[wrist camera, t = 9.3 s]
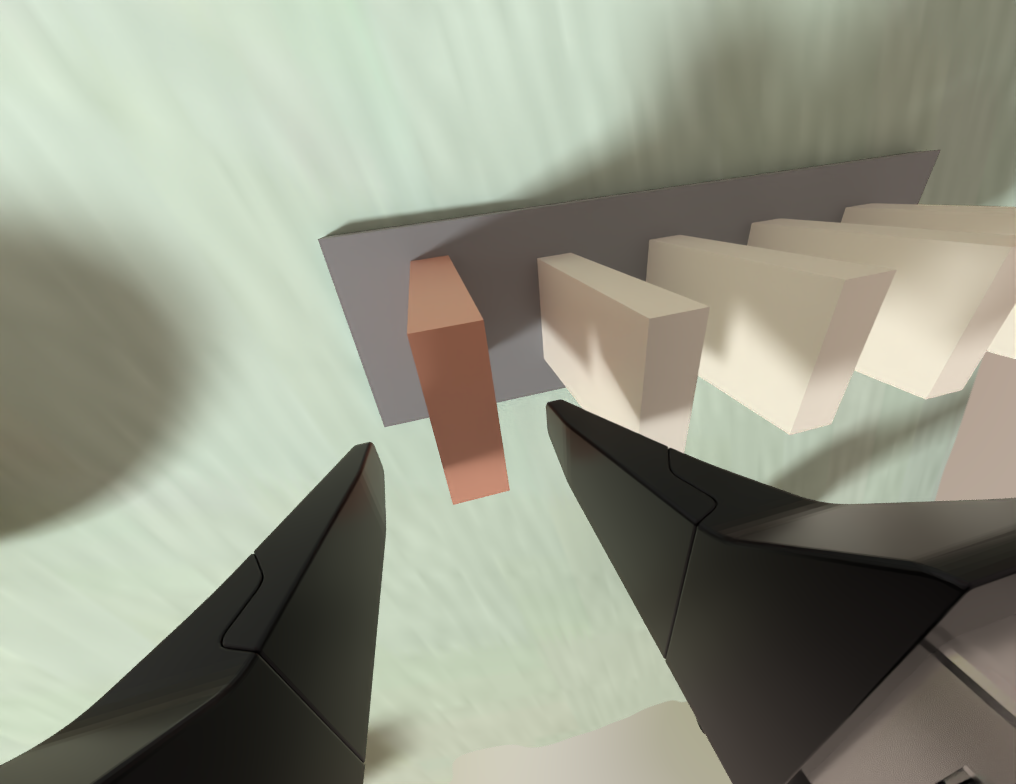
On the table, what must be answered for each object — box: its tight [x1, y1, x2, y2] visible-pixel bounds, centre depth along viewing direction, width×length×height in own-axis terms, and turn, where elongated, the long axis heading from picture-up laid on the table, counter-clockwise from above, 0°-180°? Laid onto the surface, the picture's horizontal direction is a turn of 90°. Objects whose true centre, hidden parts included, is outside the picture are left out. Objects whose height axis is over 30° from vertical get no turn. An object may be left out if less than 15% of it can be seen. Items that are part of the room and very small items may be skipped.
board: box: [318, 150, 940, 427], centre depth 19 cm, size 9×30×1 cm, turn 96°
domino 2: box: [646, 235, 896, 435], centre depth 14 cm, size 5×2×9 cm, turn 6°
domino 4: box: [841, 203, 1016, 359], centre depth 16 cm, size 5×2×9 cm, turn 6°
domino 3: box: [747, 218, 1016, 399], centre depth 15 cm, size 5×2×9 cm, turn 6°
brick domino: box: [407, 255, 509, 505], centre depth 13 cm, size 5×2×9 cm, turn 6°
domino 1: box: [537, 253, 710, 453], centre depth 14 cm, size 5×2×9 cm, turn 6°
